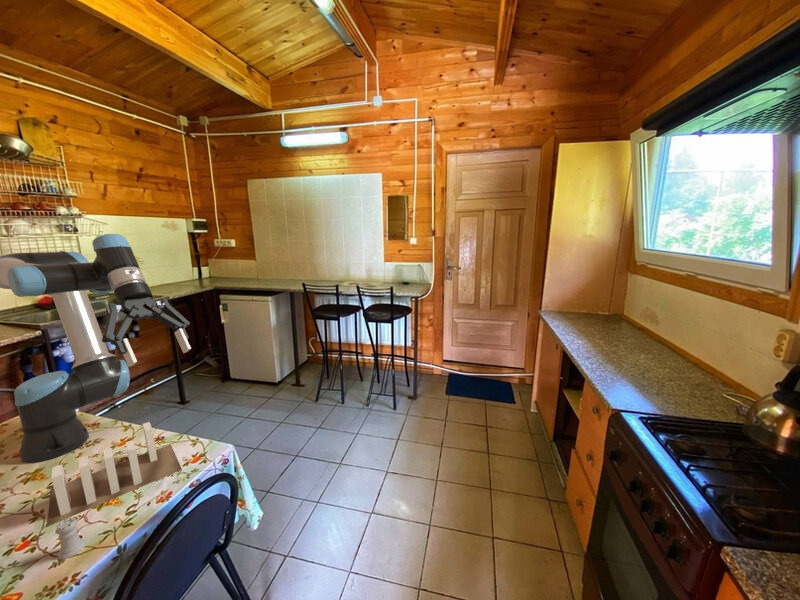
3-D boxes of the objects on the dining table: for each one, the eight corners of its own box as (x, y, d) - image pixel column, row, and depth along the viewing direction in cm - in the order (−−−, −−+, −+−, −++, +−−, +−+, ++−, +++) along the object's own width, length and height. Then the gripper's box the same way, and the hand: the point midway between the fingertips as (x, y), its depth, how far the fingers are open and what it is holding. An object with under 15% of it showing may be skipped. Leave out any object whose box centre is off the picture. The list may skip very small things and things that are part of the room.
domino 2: (87, 504, 79) (78, 468, 77) (86, 493, 83) (78, 458, 81) (96, 501, 80) (88, 465, 78) (95, 490, 84) (87, 455, 82)
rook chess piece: (69, 567, 66) (60, 534, 64) (52, 563, 66) (43, 530, 65) (93, 547, 70) (86, 515, 68) (77, 543, 71) (70, 512, 69)
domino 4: (134, 485, 85) (127, 451, 84) (132, 475, 89) (125, 442, 87) (141, 481, 87) (135, 448, 85) (139, 472, 90) (133, 439, 88)
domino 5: (150, 462, 94) (145, 430, 92) (148, 454, 98) (142, 423, 96) (157, 459, 95) (152, 428, 93) (154, 451, 99) (149, 421, 97)
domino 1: (60, 515, 76) (51, 478, 74) (61, 503, 80) (52, 467, 78) (70, 511, 77) (61, 474, 75) (70, 499, 81) (62, 464, 79)
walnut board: (47, 532, 74) (46, 526, 73) (51, 493, 85) (50, 488, 85) (182, 474, 91) (182, 469, 91) (171, 448, 103) (170, 444, 102)
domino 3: (111, 494, 82) (104, 459, 80) (110, 484, 86) (103, 450, 84) (119, 491, 83) (112, 456, 82) (118, 481, 87) (111, 447, 85)
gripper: (76, 283, 75) (112, 364, 73) (183, 278, 98) (213, 340, 96) (63, 298, 78) (97, 377, 76) (170, 290, 101) (198, 351, 99)
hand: (162, 357), depth 86 cm, fingers open, 13 cm apart
